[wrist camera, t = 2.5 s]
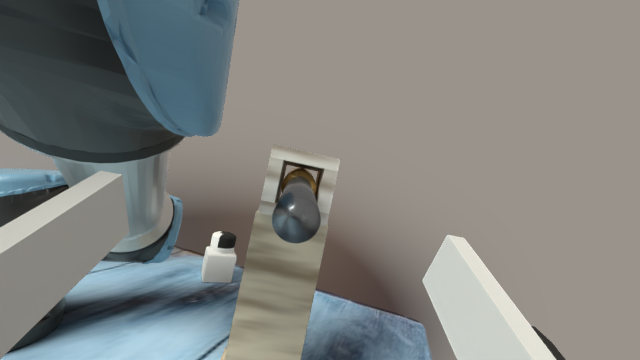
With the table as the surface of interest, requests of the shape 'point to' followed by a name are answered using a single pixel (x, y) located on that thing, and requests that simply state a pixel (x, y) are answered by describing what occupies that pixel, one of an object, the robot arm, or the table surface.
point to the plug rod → (297, 208)
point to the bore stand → (280, 269)
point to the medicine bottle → (219, 259)
